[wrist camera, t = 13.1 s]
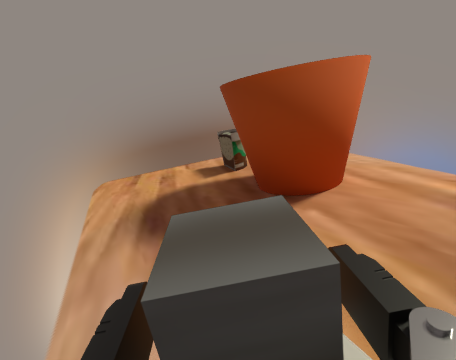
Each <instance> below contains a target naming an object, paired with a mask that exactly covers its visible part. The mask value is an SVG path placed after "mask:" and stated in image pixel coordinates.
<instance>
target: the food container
mask: <svg viewBox="0 0 456 360" xmlns="http://www.w3.org/2000/svg"><path fill="white" fill-rule="evenodd" d="M218 139H219V142H220V147H221V152H222V156H223V161H224V165H225V166H227V167H229V168H231V169H233V170H235V171H237V170H240V169H243V168H245V167H246V166H247V160H246V153H245V151H244V148H243V145H242V143H241V140H240V138H239V135H238V133H237V130H236V129H232V130H225V131H220V132H218Z"/></svg>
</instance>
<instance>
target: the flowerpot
mask: <svg viewBox="0 0 456 360" xmlns="http://www.w3.org/2000/svg"><path fill="white" fill-rule="evenodd" d="M370 60H371V56H370V55H356V56H346V57H339V58H332V59H326V60H320V61H315V62H309V63H304V64H299V65H294V66H289V67H285V68H280V69H275V70H271V71H267V72H263V73H259V74H255V75H251V76H247V77H244V78H240V79H237V80H234V81H231V82H228V83H226V84H223V85H222V86H220V89H221V92H222V94H223V97H224V99H225V102H226V105H227V107H228V110H229V112H230V115H231V117H232V120H233V122H234V125H235V128H236V130H237V133H238V135H239V138H240V140H241V143H242V145H243V148H244V151H245V153H246V156H247V158H248V161H249V163H250V166H251V168H252V171H253V173H254V176H255V179H256V181H257V184H258V186H259V188H260V189H261V190H263V191H265V192H267V193H271V194H276V195H288V196H294V195H308V194H314V193H320V192H323V191H327V190H330V189H332V188H334V187H336V186H338V185H339V184H340V183H341V182H342V180H343V176H344V171H345V167H346V163H347V158H348V154H349V150H350V146H351V141H352V137H353V132H354V128H355V124H356V120H357V115H358V111H359V107H360V103H361V98H362V94H363V89H364V85H365V81H366V77H367V73H368V68H369V64H370Z"/></svg>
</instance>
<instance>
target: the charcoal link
mask: <svg viewBox="0 0 456 360" xmlns="http://www.w3.org/2000/svg"><path fill="white" fill-rule="evenodd" d="M141 304H142V307H143V310H144V313H145V316H146V319H147V322H148V325H149V328H150V331H151V334H152V337H153V340H154V343H155V346H156V349H157V351H158V354H159V357H160V360H344V355H343V329H342V303H341V277H340V262H339V261H338V260H337V259H336V258H335V257H334V255H333V254H332V253H331V252H330V251H329V250H328V249H327V247H326V246H325V245H324V244H323V243H322V242H321V240H320V239H319V238H318V237H317V236H316V235H315V233H314V232H313V231H312V230H311V229H310V228H309V226H308V225H307V224H306V223H305V222H304V221H303V219H302V218H301V217H300V216H299V215H298V214H297V212H296V211H295V210H294V209H293V208H292V207H291V206H290V204H289V203H288V202H287V201H286V200H285V199H284V197H283V196H282V195H280V196H275V197H269V198H264V199H259V200H253V201H248V202H243V203H237V204H232V205H226V206H221V207H216V208H210V209H205V210H200V211H194V212H189V213H184V214H178V215H173V216H172V217H171V219H170V222H169V225H168V228H167V230H166V233H165V236H164V239H163V241H162V244H161V247H160V250H159V252H158V255H157V258H156V261H155V264H154V266H153V269H152V272H151V275H150V277H149V280H148V283H147V286H146V288H145V291H144V294H143V297H142V299H141Z"/></svg>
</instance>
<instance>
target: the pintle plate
mask: <svg viewBox="0 0 456 360" xmlns="http://www.w3.org/2000/svg"><path fill="white" fill-rule="evenodd" d="M343 355H344V360H372V359H371V358H370V357H369V356H368V355H367V354H365V353H364V352H363V351H362V350H361V349H360V348H359V347H358V346H356V345H355V344H354V343H353V342H352V341H351V340H350V339H349V338H347V337H346V336H345V335H344V334H343Z"/></svg>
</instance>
